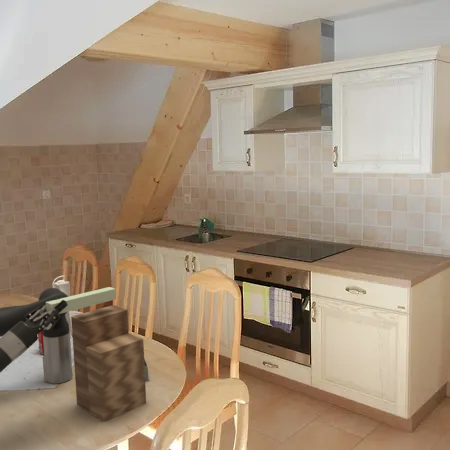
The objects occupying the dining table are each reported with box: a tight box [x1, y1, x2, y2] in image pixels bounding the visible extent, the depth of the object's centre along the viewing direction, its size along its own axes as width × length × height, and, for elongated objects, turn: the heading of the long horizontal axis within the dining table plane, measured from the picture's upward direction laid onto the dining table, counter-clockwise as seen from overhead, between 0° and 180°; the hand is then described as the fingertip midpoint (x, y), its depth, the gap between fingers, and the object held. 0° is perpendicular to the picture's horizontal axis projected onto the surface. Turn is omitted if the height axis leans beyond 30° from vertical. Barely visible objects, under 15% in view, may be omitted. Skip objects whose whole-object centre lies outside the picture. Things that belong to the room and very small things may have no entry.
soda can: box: [37, 332, 44, 355], centre depth 215 cm, size 7×7×13 cm
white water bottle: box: [52, 275, 72, 339], centre depth 229 cm, size 8×8×28 cm
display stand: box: [70, 304, 147, 422], centre depth 170 cm, size 16×16×30 cm
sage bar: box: [46, 286, 117, 315], centre depth 165 cm, size 22×4×4 cm, turn 136°
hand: (62, 300), depth 160 cm, fingers closed on sage bar, 3 cm apart
